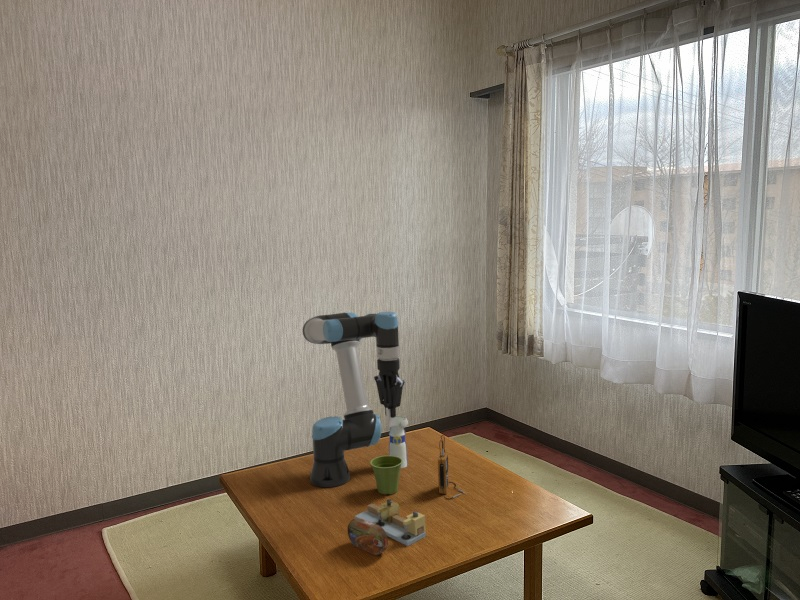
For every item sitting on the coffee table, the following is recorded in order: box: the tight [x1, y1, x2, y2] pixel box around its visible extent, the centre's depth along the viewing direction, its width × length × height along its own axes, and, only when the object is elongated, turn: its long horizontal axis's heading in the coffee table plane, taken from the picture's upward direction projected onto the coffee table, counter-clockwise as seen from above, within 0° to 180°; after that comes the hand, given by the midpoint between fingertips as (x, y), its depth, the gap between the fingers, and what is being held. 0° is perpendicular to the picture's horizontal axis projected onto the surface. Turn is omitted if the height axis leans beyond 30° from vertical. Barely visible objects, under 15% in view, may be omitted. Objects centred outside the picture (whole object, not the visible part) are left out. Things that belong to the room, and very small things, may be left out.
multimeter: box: [437, 434, 467, 500], centre depth 223 cm, size 15×10×20 cm
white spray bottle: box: [388, 415, 409, 469], centre depth 248 cm, size 8×9×25 cm
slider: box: [377, 499, 400, 524], centre depth 201 cm, size 4×7×6 cm, turn 134°
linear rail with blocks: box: [354, 503, 427, 547], centre depth 199 cm, size 25×8×8 cm, turn 44°
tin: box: [347, 518, 389, 556], centre depth 186 cm, size 15×3×8 cm, turn 48°
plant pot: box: [369, 455, 403, 495], centre depth 226 cm, size 12×12×11 cm
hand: (391, 425), depth 211 cm, fingers closed
